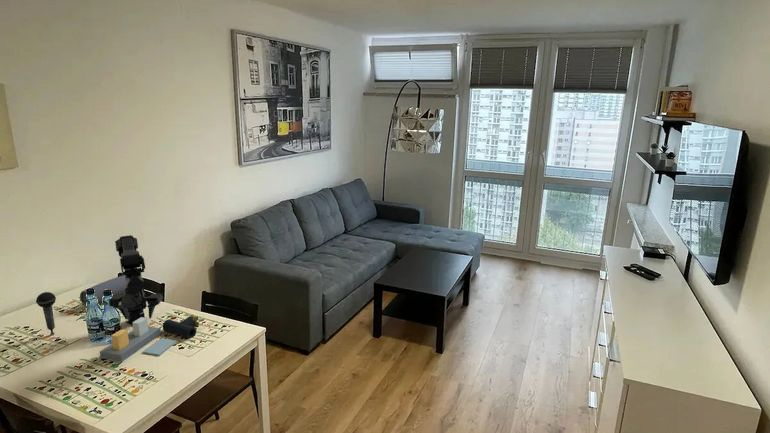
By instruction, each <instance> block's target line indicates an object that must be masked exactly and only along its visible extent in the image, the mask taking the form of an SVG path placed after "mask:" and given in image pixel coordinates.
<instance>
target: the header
mask: <svg viewBox="0 0 770 433" xmlns="http://www.w3.org/2000/svg"><path fill="white" fill-rule="evenodd" d="M148 329H149V331H148V332H146V333H145V334H143V335H142V336H140V337H139V336H134V331H133V330H131V331H130V332H128V339H129V344H128V345H127V346H125V347H124V348H122V349H121V350H114V349H113V344H112V343H110V344H109V345H108V346H106V347H105V348H103V349H101V350H100V351H99V355H100V359H103V360H108V361H109V360H110V361H115V362H118V363H119V362H123V361H126V360H127V359H128V358H130V357H131V356H133V354H136V353H137V352H138V351H140V350H142V348H144V347H145V346H147V345H148V344H150V343H151V342H153V341H154V340H155V339H156V338H158V337H159V336H161V335H162V331H161V327H155V326H154V327H153V326H150V325H148Z"/></svg>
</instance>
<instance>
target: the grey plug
mask: <svg viewBox="0 0 770 433" xmlns="http://www.w3.org/2000/svg"><path fill="white" fill-rule="evenodd" d="M148 326H149V322H148V317H146V318H143V317H141V318H139V319H137V320H136V321H134V322H133V324H132V331H134V336H139V337H140V336H142V335H143V334H145V333H146V332H148V331H149V329H148Z"/></svg>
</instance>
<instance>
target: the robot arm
mask: <svg viewBox="0 0 770 433" xmlns="http://www.w3.org/2000/svg"><path fill="white" fill-rule="evenodd" d="M114 243H115V250H116V252H117V253H118V256H119V257H120V258H119V263H120V264H119V265H120V269H121V274H122V275H121V276H123V275H125V280H126V289H125V292H124V293H122V294H117V295H114V296H113V297H112V298H111V299H110V300H109V301H108V306H109V307H112V308H114V309H117V310H119V312H120V313H121V315H123V317H124V319H125V320H126V321H125V324H128V325H133V322H134V321H136V320H137V319H139V318H141V317H143V318H147V317H145V311H144V310H146V308H148V317H149V318H148V319H152V317H153V314H154V312H155V307H156V306H158V305H159V304H160V303H162V301H163V299H164V297H163V294H162V293H151V294H150V295H149V296H145V295H146V292H144V287H145V282H144V279H143V277H142V273H145V269H146V263H145V259H144V257H143V256H142V254H140V252H139V251H138V250H137V249H138V248H139V244H138V238H136V237H134V236H133V235H132V234H131V235H124V236H123V235H121V236H119V238H118V239H117V240H115V242H114Z"/></svg>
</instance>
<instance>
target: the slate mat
mask: <svg viewBox="0 0 770 433" xmlns="http://www.w3.org/2000/svg"><path fill="white" fill-rule="evenodd" d="M177 343H178V340H175V339H170V338H162V337H161V338H159V339H158V340H156V341H155V342H154V343H152V344H151V345H150V346H148V347H147V348H145V349H144V350H142V354H147V355H151V356H157V357H158V356H159V357H160V356H161V355H162V354H164V353H165V352H167V351H168V350H169V349H171V347H173V346H174V345H175V344H177Z"/></svg>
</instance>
